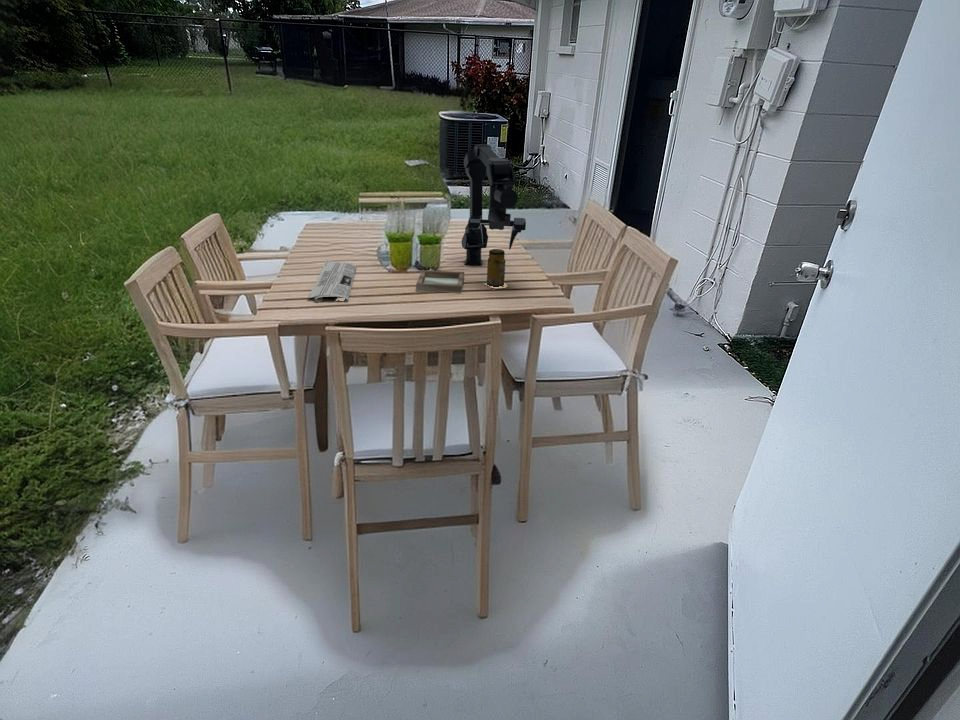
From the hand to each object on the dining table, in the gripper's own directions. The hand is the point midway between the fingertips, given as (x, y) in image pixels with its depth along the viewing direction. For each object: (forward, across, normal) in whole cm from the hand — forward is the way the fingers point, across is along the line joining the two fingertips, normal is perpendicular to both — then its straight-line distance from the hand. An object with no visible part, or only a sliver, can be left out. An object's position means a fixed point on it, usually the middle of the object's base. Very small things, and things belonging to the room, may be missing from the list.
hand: (495, 248), depth 190 cm
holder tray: (+13, -18, -2) cm, 23 cm away
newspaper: (+14, -54, -5) cm, 56 cm away
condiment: (+13, +1, 0) cm, 13 cm away
